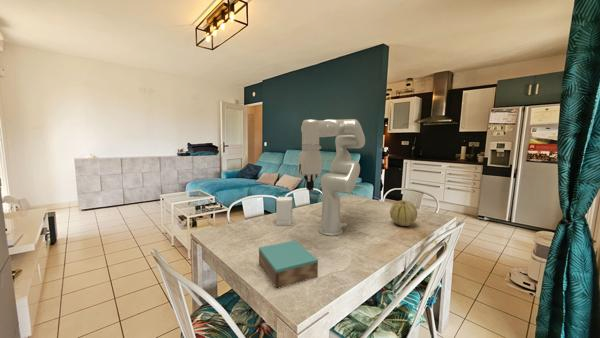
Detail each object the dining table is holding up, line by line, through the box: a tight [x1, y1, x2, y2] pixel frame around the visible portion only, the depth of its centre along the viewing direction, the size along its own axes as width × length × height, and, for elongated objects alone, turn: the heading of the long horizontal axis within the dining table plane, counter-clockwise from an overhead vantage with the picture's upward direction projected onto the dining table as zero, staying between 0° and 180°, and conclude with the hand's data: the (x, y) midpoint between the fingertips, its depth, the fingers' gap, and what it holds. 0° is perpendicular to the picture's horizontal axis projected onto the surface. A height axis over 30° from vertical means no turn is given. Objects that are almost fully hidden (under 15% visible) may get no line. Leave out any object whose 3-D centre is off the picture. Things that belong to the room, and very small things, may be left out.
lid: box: [258, 240, 319, 273], centre depth 92 cm, size 16×19×1 cm
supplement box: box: [275, 196, 293, 226], centre depth 143 cm, size 9×9×15 cm
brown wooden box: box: [258, 250, 319, 289], centre depth 93 cm, size 16×19×6 cm
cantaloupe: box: [389, 199, 418, 227], centre depth 142 cm, size 15×15×15 cm
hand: (309, 189), depth 109 cm, fingers closed
